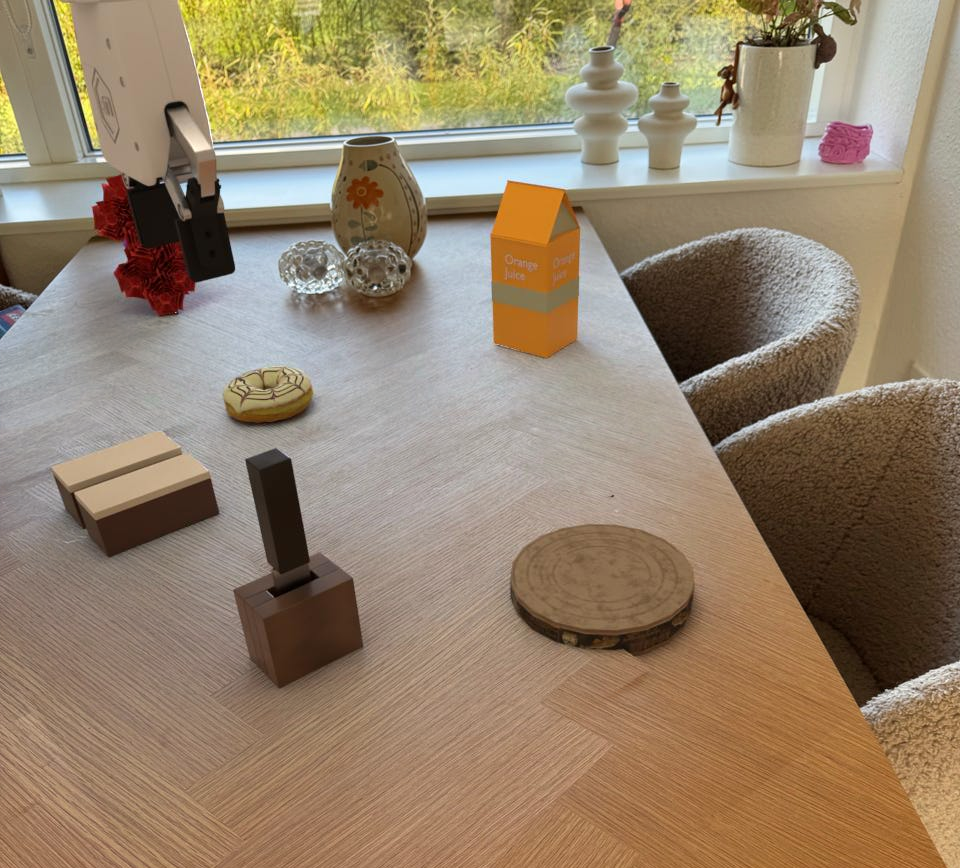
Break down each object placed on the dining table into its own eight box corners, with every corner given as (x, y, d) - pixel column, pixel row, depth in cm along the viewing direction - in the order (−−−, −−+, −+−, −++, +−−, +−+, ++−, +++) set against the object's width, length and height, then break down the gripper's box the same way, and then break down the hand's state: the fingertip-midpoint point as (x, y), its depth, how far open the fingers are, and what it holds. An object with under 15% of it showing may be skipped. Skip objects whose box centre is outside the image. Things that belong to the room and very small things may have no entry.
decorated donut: (220, 399, 120) (213, 371, 118) (303, 383, 123) (298, 355, 120) (235, 434, 112) (228, 404, 110) (323, 416, 115) (319, 386, 113)
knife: (297, 666, 78) (256, 471, 66) (284, 653, 79) (241, 459, 68) (329, 650, 79) (294, 457, 68) (315, 637, 81) (278, 446, 69)
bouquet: (209, 288, 170) (233, 305, 145) (113, 304, 166) (121, 324, 140) (179, 166, 161) (200, 161, 136) (78, 179, 157) (79, 177, 131)
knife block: (281, 697, 76) (263, 619, 71) (251, 666, 80) (232, 589, 75) (365, 655, 80) (353, 577, 75) (333, 627, 83) (320, 551, 78)
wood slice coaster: (729, 604, 84) (734, 576, 82) (599, 685, 76) (600, 657, 74) (601, 531, 93) (602, 505, 91) (474, 596, 86) (472, 569, 84)
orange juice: (546, 358, 126) (547, 197, 113) (492, 344, 130) (487, 187, 117) (578, 339, 130) (582, 181, 118) (525, 326, 135) (524, 172, 122)
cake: (83, 529, 97) (67, 486, 94) (65, 508, 101) (50, 466, 97) (191, 488, 103) (180, 446, 100) (171, 470, 106) (160, 429, 103)
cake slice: (108, 557, 93) (93, 513, 90) (88, 535, 96) (73, 492, 93) (220, 513, 99) (209, 470, 96) (198, 494, 102) (187, 452, 99)
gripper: (17, -33, 61) (98, 243, 72) (98, -20, 50) (180, 305, 61) (131, -44, 64) (192, 223, 75) (232, -35, 53) (287, 278, 64)
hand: (186, 259), depth 68 cm, fingers open, 9 cm apart
